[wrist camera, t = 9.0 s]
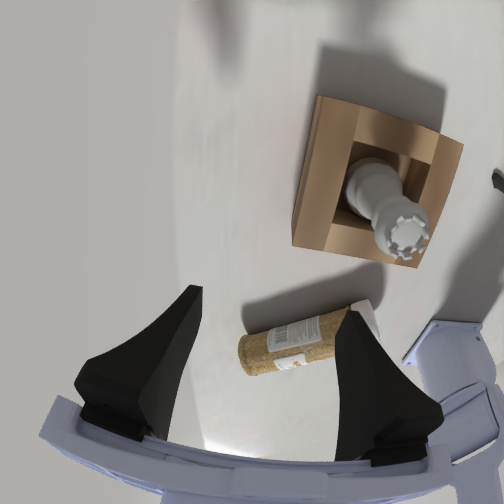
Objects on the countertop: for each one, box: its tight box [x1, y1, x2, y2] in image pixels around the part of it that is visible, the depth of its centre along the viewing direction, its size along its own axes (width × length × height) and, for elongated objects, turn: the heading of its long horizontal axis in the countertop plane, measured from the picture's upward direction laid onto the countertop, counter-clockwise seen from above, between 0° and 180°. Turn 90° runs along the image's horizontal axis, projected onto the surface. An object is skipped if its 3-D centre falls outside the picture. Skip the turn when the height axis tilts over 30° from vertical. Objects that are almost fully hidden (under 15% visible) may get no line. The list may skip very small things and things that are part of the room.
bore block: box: [291, 95, 464, 268], centre depth 18 cm, size 10×10×4 cm
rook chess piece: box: [342, 157, 430, 260], centre depth 16 cm, size 4×4×8 cm
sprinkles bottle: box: [238, 299, 380, 376], centre depth 26 cm, size 5×5×14 cm
